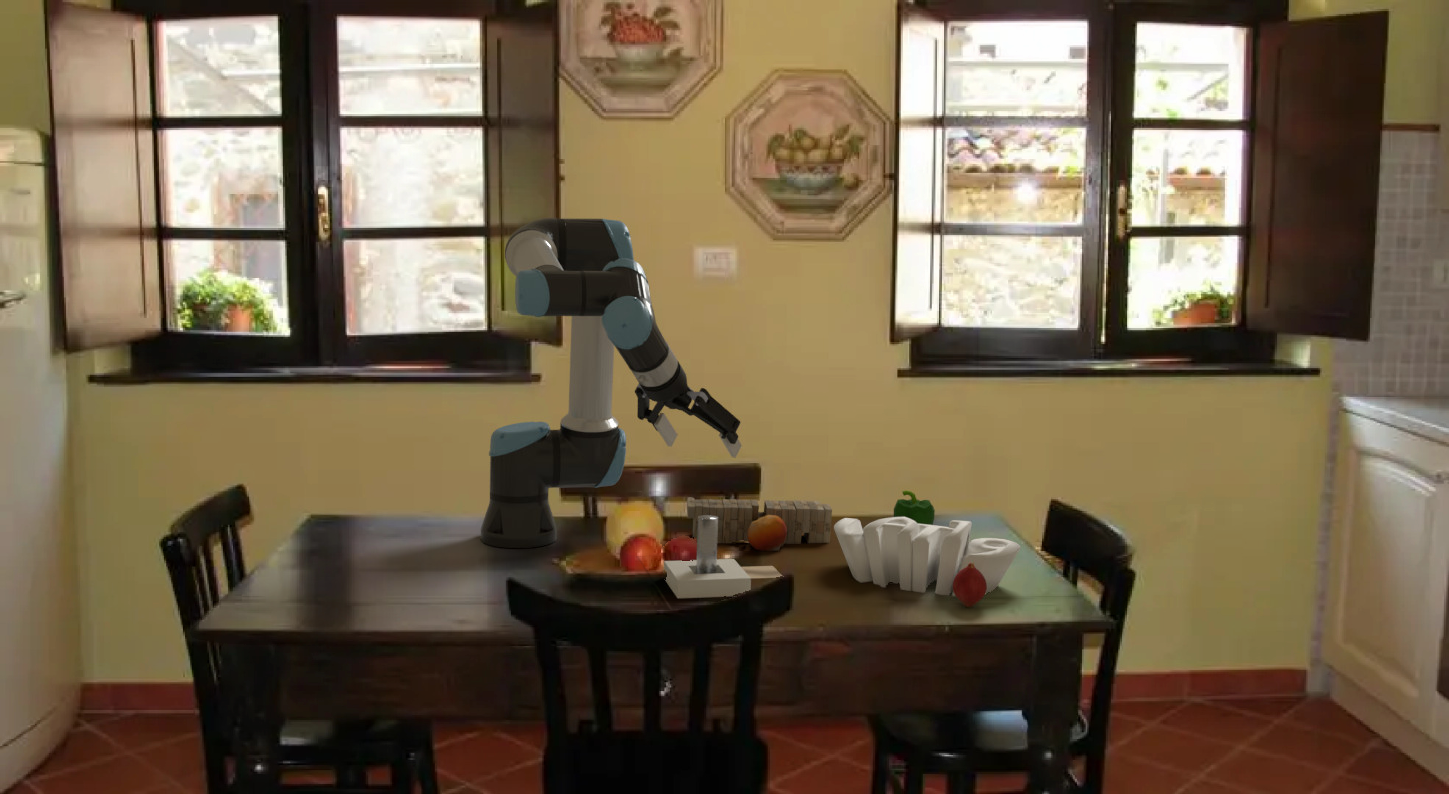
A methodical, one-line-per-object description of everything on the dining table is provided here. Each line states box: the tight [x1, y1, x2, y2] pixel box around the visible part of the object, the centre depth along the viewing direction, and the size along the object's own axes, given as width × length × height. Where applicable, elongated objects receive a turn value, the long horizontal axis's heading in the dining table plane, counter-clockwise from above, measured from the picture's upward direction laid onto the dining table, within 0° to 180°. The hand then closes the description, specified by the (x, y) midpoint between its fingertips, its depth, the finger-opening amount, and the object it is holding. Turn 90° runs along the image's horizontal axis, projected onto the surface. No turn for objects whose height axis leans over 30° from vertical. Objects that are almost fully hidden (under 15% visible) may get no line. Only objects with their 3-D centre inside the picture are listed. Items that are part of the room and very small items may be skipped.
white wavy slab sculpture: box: [833, 516, 1022, 597], centre depth 257 cm, size 35×16×11 cm, turn 67°
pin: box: [696, 515, 718, 574], centre depth 247 cm, size 4×4×13 cm
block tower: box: [686, 496, 833, 545], centre depth 284 cm, size 8×8×29 cm
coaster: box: [741, 565, 783, 580], centre depth 258 cm, size 8×8×1 cm
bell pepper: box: [893, 490, 936, 525], centre depth 289 cm, size 8×8×10 cm
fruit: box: [747, 515, 787, 552], centre depth 276 cm, size 8×8×8 cm
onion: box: [952, 563, 987, 608], centre depth 241 cm, size 6×6×8 cm
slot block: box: [663, 558, 752, 599], centre depth 248 cm, size 13×13×4 cm
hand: (704, 445), depth 246 cm, fingers open, 13 cm apart
